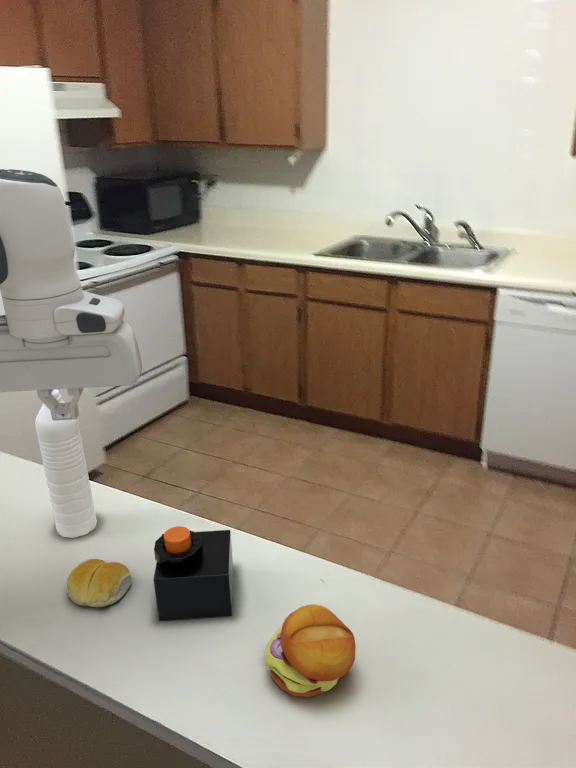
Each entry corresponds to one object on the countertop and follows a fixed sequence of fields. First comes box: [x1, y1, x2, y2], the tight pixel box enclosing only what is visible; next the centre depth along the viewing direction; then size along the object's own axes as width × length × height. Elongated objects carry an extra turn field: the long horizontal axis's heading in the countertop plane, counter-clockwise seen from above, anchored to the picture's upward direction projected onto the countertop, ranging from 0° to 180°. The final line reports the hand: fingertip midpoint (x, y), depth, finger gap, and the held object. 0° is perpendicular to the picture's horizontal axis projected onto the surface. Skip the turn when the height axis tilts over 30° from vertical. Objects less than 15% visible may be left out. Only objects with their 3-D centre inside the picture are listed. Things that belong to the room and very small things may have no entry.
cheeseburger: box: [264, 603, 357, 698], centre depth 81 cm, size 10×11×10 cm
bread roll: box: [66, 558, 133, 608], centre depth 97 cm, size 8×9×4 cm
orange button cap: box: [163, 525, 191, 553], centre depth 92 cm, size 4×4×2 cm
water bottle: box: [34, 388, 98, 539], centre depth 108 cm, size 9×6×25 cm
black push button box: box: [152, 529, 234, 622], centre depth 94 cm, size 10×10×9 cm
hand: (66, 418), depth 84 cm, fingers closed
